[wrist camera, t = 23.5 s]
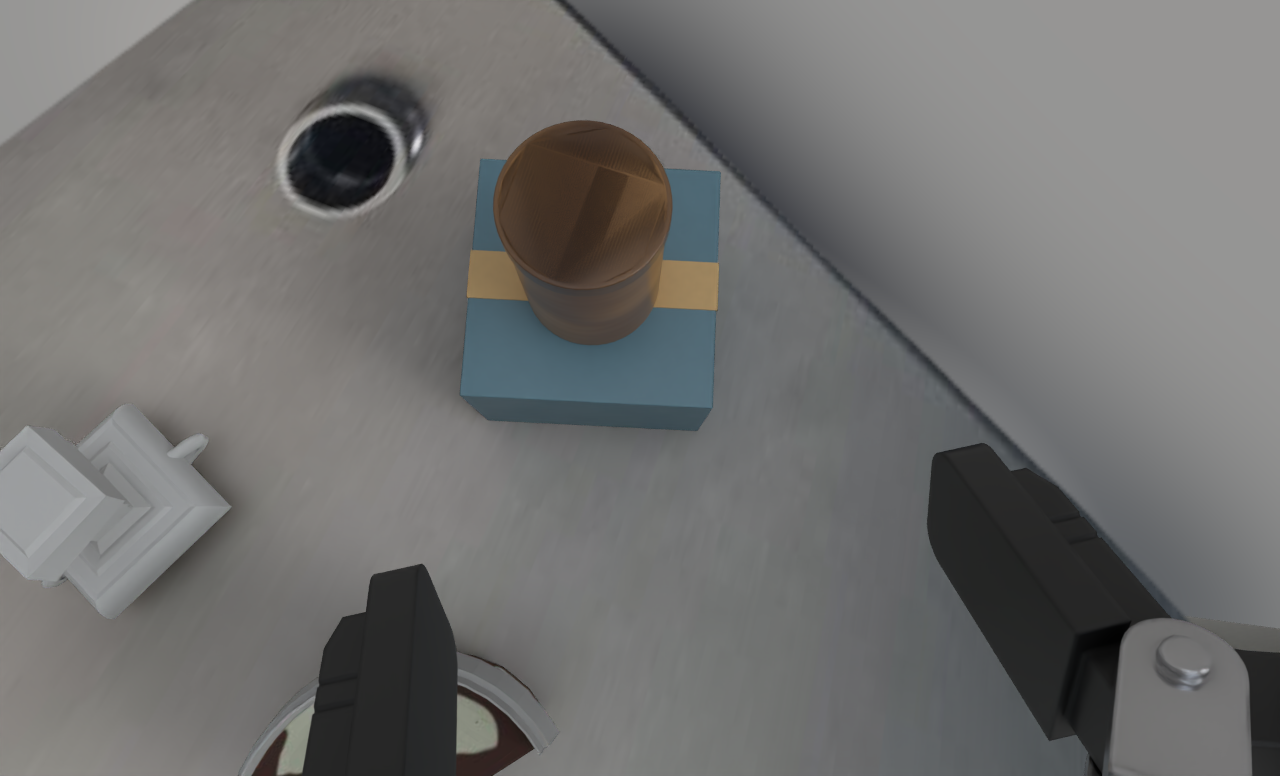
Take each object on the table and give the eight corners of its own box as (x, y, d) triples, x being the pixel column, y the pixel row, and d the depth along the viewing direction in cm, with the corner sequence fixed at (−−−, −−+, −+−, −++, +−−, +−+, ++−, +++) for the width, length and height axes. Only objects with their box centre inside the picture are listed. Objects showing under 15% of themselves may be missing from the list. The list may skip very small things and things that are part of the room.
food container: (505, 572, 39) (465, 583, 29) (573, 692, 38) (555, 745, 28) (263, 719, 38) (136, 782, 28) (327, 846, 37) (219, 957, 27)
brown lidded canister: (664, 218, 35) (676, 124, 27) (658, 351, 34) (668, 294, 26) (528, 210, 35) (500, 114, 27) (518, 344, 34) (485, 284, 26)
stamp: (126, 635, 38) (-11, 661, 30) (31, 532, 39) (-129, 530, 31) (275, 489, 40) (183, 475, 31) (180, 392, 40) (65, 354, 32)
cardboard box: (706, 231, 42) (722, 170, 35) (698, 431, 40) (714, 408, 33) (502, 220, 42) (478, 157, 35) (486, 420, 40) (457, 395, 33)
